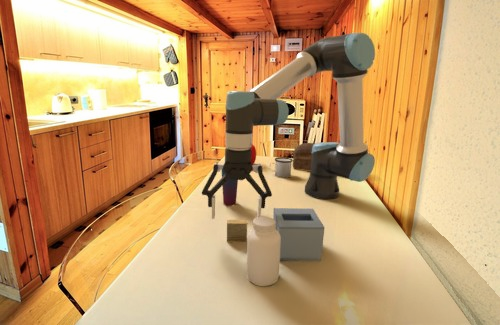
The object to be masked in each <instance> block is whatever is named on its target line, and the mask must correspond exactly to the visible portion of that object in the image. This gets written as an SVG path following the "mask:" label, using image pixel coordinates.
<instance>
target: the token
mask: <svg viewBox="0 0 500 325" xmlns="http://www.w3.org/2000/svg"><path fill="white" fill-rule="evenodd" d="M247 237H248V220H247V219H227V220H226V242H231V243H232V242H237V243H238V242H241V243H243V242H244V243H245V242H246V243H247Z"/></svg>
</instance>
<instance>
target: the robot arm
mask: <svg viewBox="0 0 500 325" xmlns="http://www.w3.org/2000/svg"><path fill="white" fill-rule="evenodd" d="M375 57H376V50H375V45H374V41H373V39H372V38H371V37H370V36H369V35H368V34H367V33H364V32H350V33H346V34H341V35H339V34H338V35H334V36H327V37H323V38H321V39H320V40H317V41H315V42H314V43H311V45H309V46H308V47H305V48H304V49H303V50H301V51H299V53H298V54H297V55H296V56H295V59H293V60H292V61H291V62H289V63H288V64H286V65H285V66H283V67H282V68H281V69H279V70H277V71H276V72H275V73H273V74H272V75H271V76H269V77H268V78H266V79H264V81H261V82H260V83H259V84H257V86H255V87H253V88H252V89H251V90H248V91H243V90H242V91H241V90H230V91H228V92H227V93H226V99H225V100H226V102H225V134H224V136H225V138H224V139H225V141H224V142H225V143H224V144H225V145H224V146H225V147H226V148H224V149H225V150H224V162H223V163H224V164H222V163H219V162H214V164H213V169H212V172H211V174H210V175H209V178H208V179H207V181H206V183H205V185H204V187H203V189H202V192H201V195H202V196H206V197H207V206H208V208H211V220H213V219H215V218H216V193H217V192H218V191H219V190H220V189H221V188H222V185H223V184H224V183H225V182H226V181H227V180H228V179H229V178H230V179H232V180H238V181H244V180H246V181H247V182H248V183H249V184H250V186H252V188H253V189H254V190H255V192H256V193H257V195H258V196H257V214H256V215H257V217H262V216H261V214H262V209H265V208H266V199H267V198H270V197H272V196H273V193H272V191H271V188H270V186H269V184H268V182H267V179H266V177H265V175H264V173H263V166H262V164H261V163H258V164H256V165H254V164H253V165H252V164H251V158H252V150H251V147H252V145H253V137H254V136H253V133H254V132H253V130H254V127H255V126H256V127H257V126H278V125H284V124H285V123H286V121H287V120H288V117H289V112H290V111H289V107H288V104H287V102H286V101H285V100H282V99H278V98H281V96H282V95H284V94H286V93H287V92H288V91H289V90H291V89H293V87H295V86H297V84H299V83H300V82H302V81H303V80H304V79H306V78H310V77H313V76H314V75H316V74H318V73H322V72H331V75H332V79H333V80H334V81H335V82H336V86H337V88H336V90H337V108H338V110H337V111H338V127H339V128H338V130H339V131H338V132H339V142H335V141H334V142H333V141H331V142H327V141H325V142H317V143H316V144H314V145H313V148H312V152H311V153H312V154H311V168H310V171H309V176H308V178H307V181H306V182H305V183H306V184H305V185H304V193H305V195H307V196H310V197H311V198H315V199H320V200H321V199H323V200H330V199H331V200H333V199H337V198H339V196H340V187H339V182H338V177H341V178H344V179H348V180H350V181H351V182H352V181H353V182H357V183H358V182H359V183H362V182H365V181H366V180H367V179H368V178H369V176H370V175H371V174H372V171H373V169H374V167H375V163H376V162H375V160H376V159H375V156H374V155H373V154H371V152H370V153H369V148H368V145H367V144H366V143H365V142H364V96H363V95H364V83H363V82H364V80H363V79H364V78H365V76H367V75H368V69H370V68H371V67H372V65H373V64H374V61H375V59H376V58H375ZM221 169H223V170H224V171H225V172H226V174H225V175H224V176H223V177H222V176H221V178H220V179H219V180H218V181H217V182H216V184H214V185H213V187H212V188H211V189H210V187H211V186H212V184H213V182H214V179H215V178H216V176H217V175H218V174H217V173H219V172H221V171H222V170H221ZM253 170H254V172H255V173H257V174H258V177H259V180H260V181H261V184H262V185H263V188H264V190H265V191H264V190H263V189H262V188H261V187H260V185H259V184H258V183H257V182H256V180H255V179H254V178H253V177H252V175H251V173H252V172H253ZM209 189H210V190H209Z"/></svg>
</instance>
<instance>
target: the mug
mask: <svg viewBox="0 0 500 325" xmlns="http://www.w3.org/2000/svg"><path fill="white" fill-rule="evenodd" d="M274 161H275V162H270V163H269V166H271V164H275V165H274V166H275V167H274V168H275V170H272V169H269V171H270V172H274V175H275V177H277V178H281V179H284V178H285V179H286V178H291V174H292V163H293V159H292V158H290V157H285V156H283V157H282V156H280V157H275V158H274Z"/></svg>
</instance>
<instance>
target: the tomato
mask: <svg viewBox="0 0 500 325" xmlns="http://www.w3.org/2000/svg"><path fill="white" fill-rule="evenodd" d="M251 150H252V158H251V164H252V165H254V164H255V162H256V159H257V150H256V146H255V145H254V144H252V147H251Z"/></svg>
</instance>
